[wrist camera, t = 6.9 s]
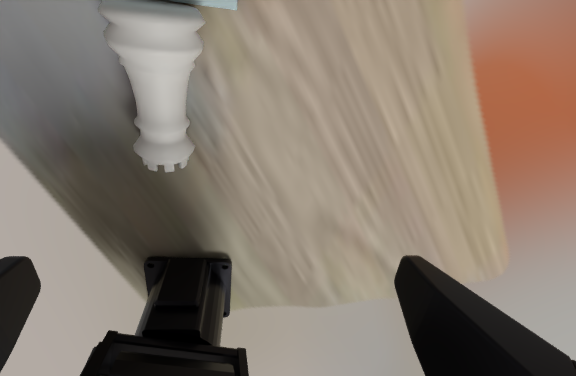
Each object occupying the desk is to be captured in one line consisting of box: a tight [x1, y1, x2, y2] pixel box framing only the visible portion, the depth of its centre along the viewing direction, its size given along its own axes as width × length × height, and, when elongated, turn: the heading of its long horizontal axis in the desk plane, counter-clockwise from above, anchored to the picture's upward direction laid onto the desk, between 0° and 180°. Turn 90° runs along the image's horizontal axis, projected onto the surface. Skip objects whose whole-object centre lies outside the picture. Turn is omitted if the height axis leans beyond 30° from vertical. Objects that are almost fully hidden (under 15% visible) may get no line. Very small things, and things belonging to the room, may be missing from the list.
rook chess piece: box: [98, 0, 206, 172], centre depth 16 cm, size 4×4×8 cm
